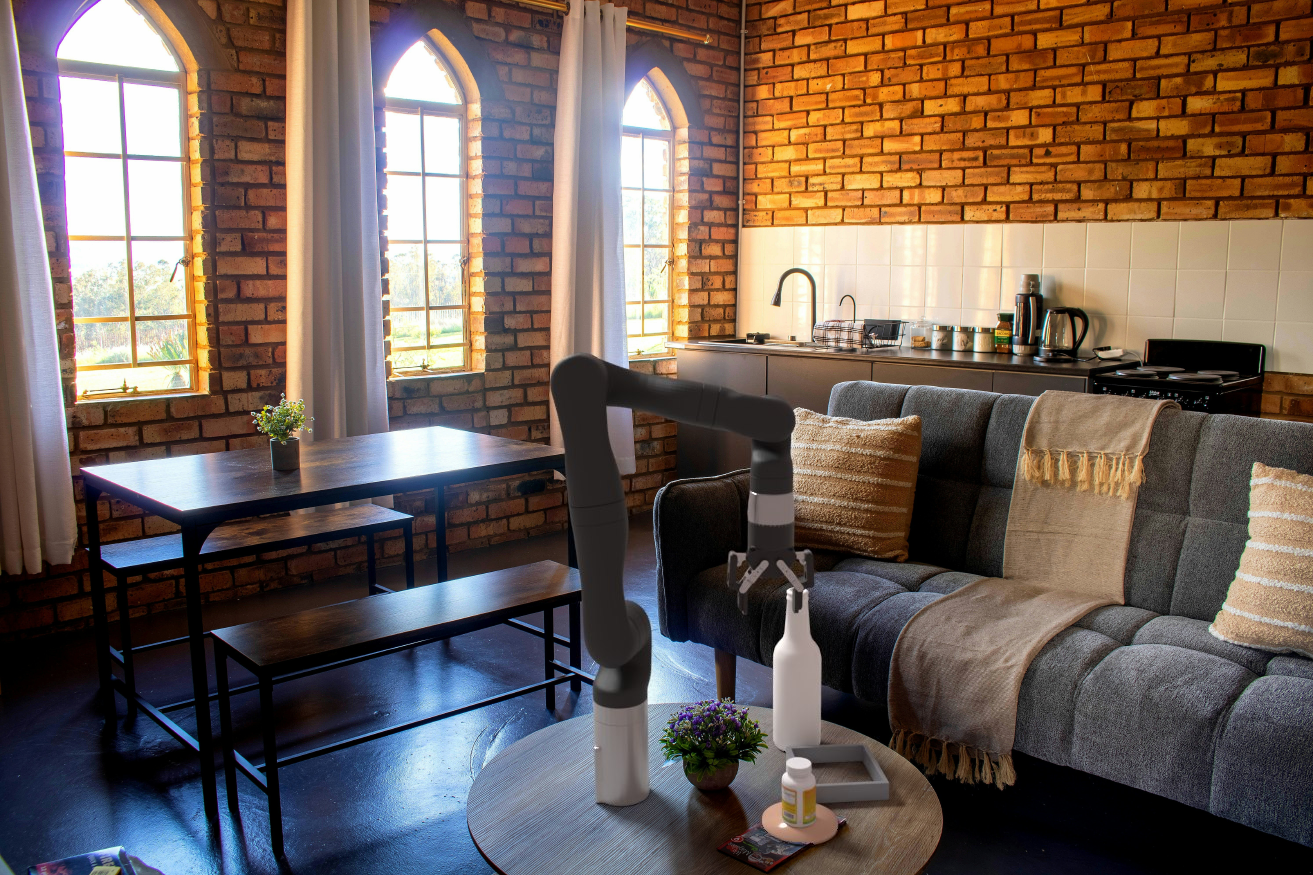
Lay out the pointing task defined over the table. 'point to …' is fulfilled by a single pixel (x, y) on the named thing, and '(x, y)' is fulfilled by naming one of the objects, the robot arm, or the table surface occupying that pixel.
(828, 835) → the plate
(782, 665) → the alcohol
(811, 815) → the supplement bottle
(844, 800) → the bin
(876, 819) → the table surface
